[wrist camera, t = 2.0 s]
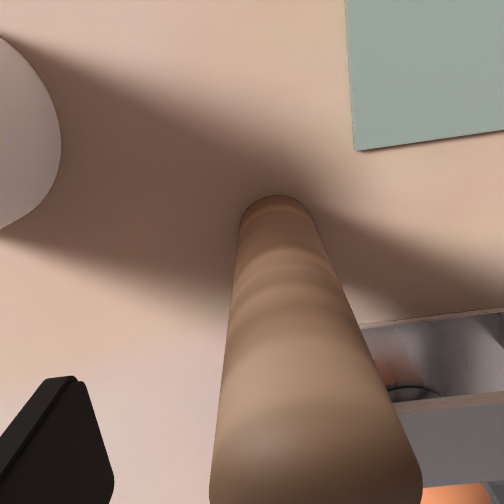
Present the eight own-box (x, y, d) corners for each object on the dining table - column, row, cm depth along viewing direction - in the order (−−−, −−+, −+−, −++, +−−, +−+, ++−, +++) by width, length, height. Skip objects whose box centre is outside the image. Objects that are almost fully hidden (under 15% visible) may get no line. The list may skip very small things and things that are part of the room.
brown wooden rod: (233, 201, 18) (190, 423, 6) (310, 190, 18) (422, 396, 6) (245, 270, 19) (227, 577, 7) (317, 261, 19) (424, 559, 7)
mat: (339, -90, 15) (341, -94, 14) (552, -127, 14) (560, -133, 14) (353, 149, 18) (356, 150, 17) (533, 123, 17) (539, 124, 17)
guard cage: (268, 335, 21) (273, 428, 15) (531, 303, 20) (640, 388, 14) (296, 519, 25) (308, 646, 19) (514, 498, 24) (594, 623, 18)
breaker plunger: (373, 439, 19) (387, 480, 17) (468, 429, 19) (493, 469, 17) (378, 506, 20) (391, 551, 18) (465, 498, 20) (488, 542, 18)
